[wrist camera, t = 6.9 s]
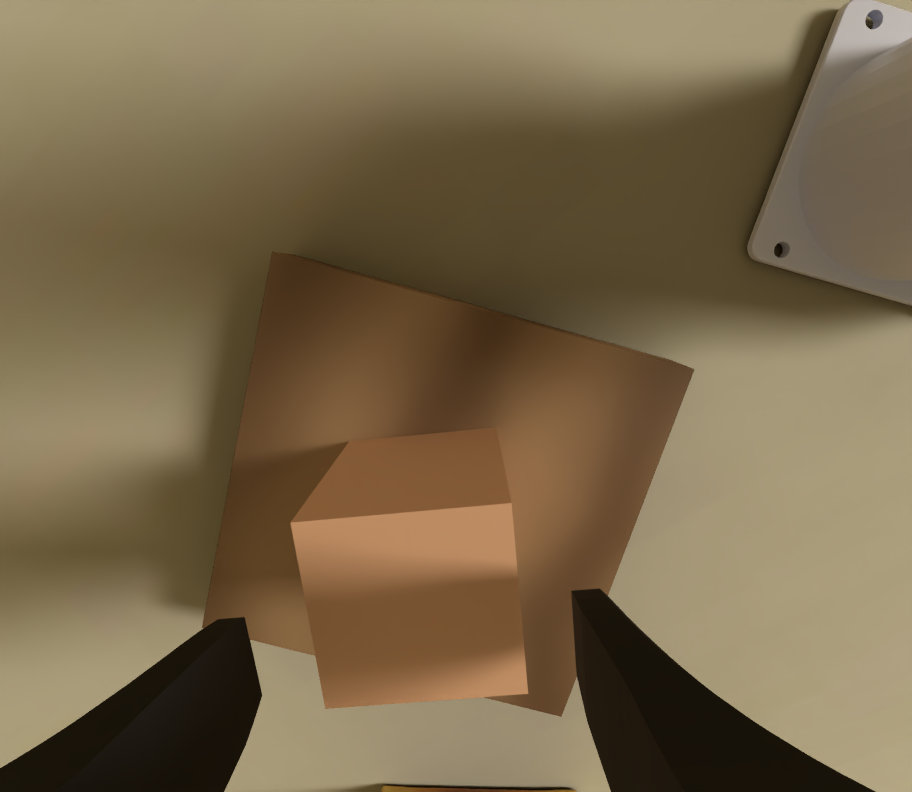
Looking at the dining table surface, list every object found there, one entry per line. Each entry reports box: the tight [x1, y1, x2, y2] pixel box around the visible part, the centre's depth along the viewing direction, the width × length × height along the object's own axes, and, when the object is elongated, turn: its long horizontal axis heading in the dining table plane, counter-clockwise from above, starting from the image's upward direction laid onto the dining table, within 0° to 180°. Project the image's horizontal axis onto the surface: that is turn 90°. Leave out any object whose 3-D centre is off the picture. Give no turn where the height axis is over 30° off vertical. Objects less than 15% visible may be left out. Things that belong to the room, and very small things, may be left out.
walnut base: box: [202, 252, 694, 716], centre depth 19 cm, size 14×14×2 cm
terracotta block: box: [290, 428, 528, 709], centre depth 15 cm, size 5×5×6 cm
